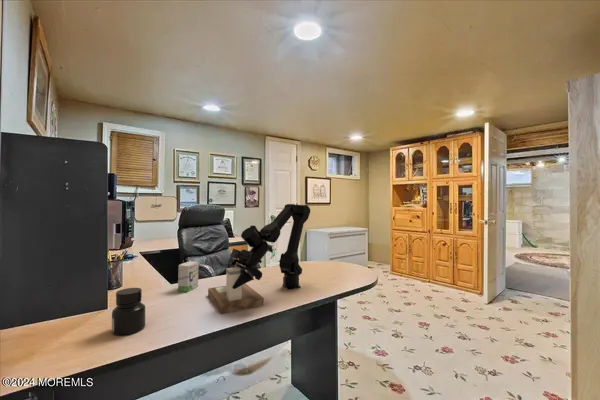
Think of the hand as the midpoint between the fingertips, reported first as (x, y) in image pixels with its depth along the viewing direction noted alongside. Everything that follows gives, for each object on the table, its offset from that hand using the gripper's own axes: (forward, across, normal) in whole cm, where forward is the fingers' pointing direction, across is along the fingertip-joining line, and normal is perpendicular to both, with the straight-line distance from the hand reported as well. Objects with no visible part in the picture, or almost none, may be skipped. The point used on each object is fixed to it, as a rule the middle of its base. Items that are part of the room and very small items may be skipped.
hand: (230, 286), depth 106 cm
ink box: (+10, -31, +1) cm, 33 cm away
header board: (+2, -6, +8) cm, 10 cm away
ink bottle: (+29, -2, -18) cm, 34 cm away
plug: (+4, 0, +6) cm, 8 cm away
